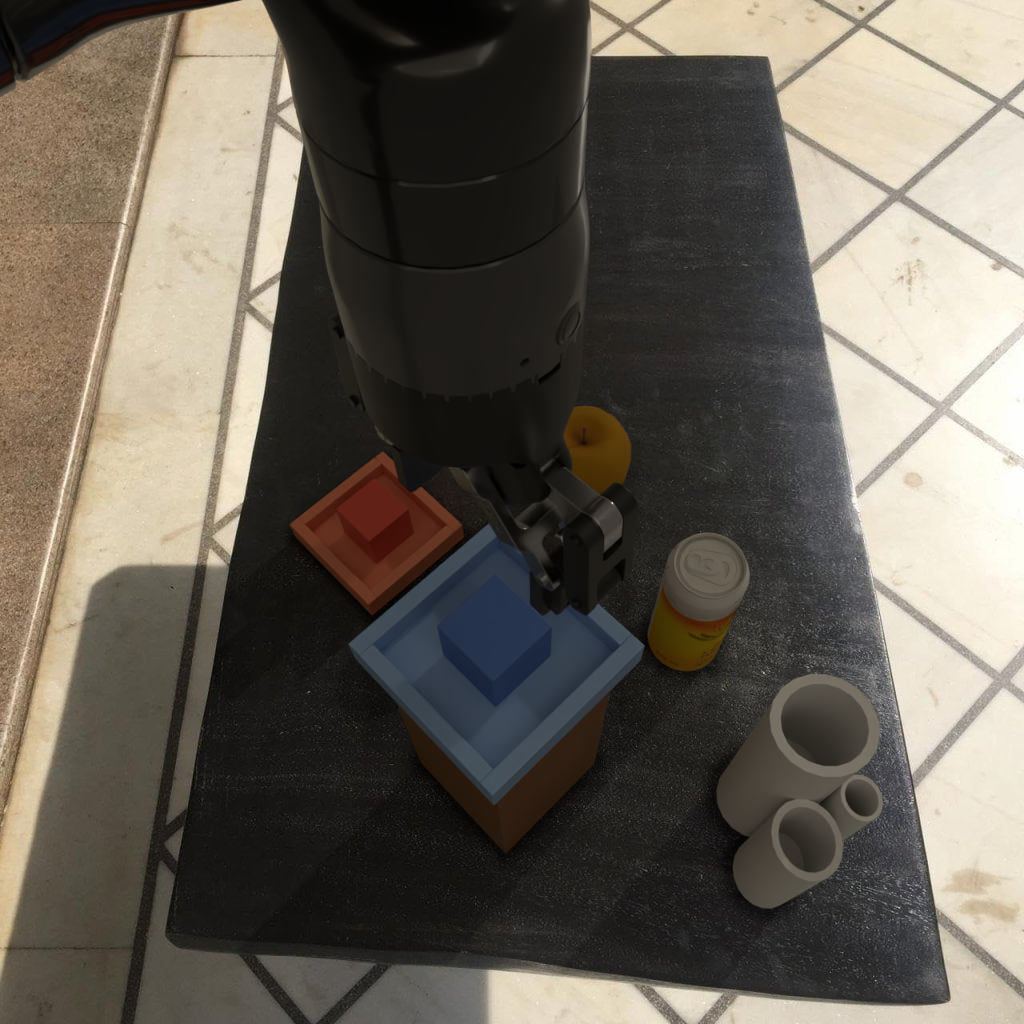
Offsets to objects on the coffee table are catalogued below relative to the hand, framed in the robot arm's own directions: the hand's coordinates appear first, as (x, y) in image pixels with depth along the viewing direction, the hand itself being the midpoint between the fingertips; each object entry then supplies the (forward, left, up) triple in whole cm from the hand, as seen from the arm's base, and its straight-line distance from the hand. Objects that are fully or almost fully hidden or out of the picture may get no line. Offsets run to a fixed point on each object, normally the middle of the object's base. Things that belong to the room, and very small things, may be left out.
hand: (486, 535), depth 43 cm
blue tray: (0, 0, -40) cm, 40 cm away
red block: (+6, +23, -39) cm, 46 cm away
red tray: (+6, +23, -40) cm, 46 cm away
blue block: (0, 0, -15) cm, 15 cm away
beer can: (+18, -3, -40) cm, 44 cm away
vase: (+11, -18, -40) cm, 45 cm away
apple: (+23, +14, -40) cm, 48 cm away
